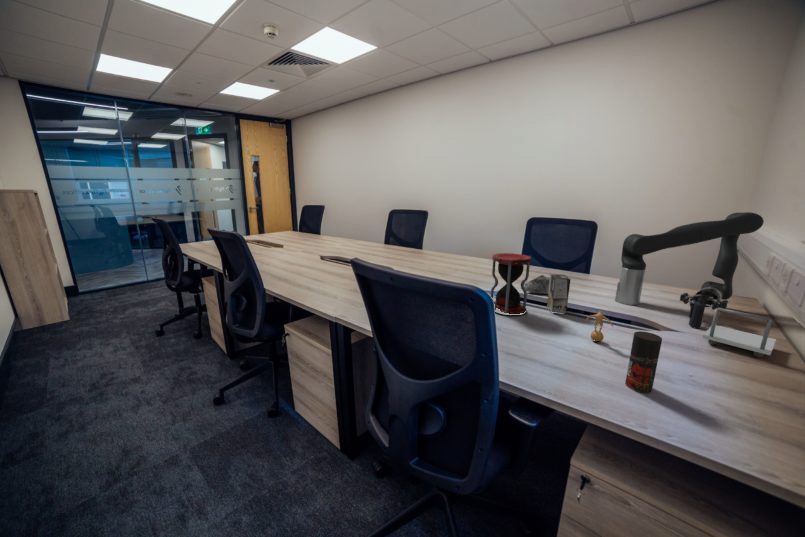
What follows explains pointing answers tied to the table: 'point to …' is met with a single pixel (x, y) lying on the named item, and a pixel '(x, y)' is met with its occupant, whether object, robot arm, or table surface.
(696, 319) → the two-way radio
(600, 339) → the figurine
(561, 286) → the coffee box
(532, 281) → the mineral rock
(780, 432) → the table surface
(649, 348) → the deodorant
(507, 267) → the hourglass
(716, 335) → the dolly
